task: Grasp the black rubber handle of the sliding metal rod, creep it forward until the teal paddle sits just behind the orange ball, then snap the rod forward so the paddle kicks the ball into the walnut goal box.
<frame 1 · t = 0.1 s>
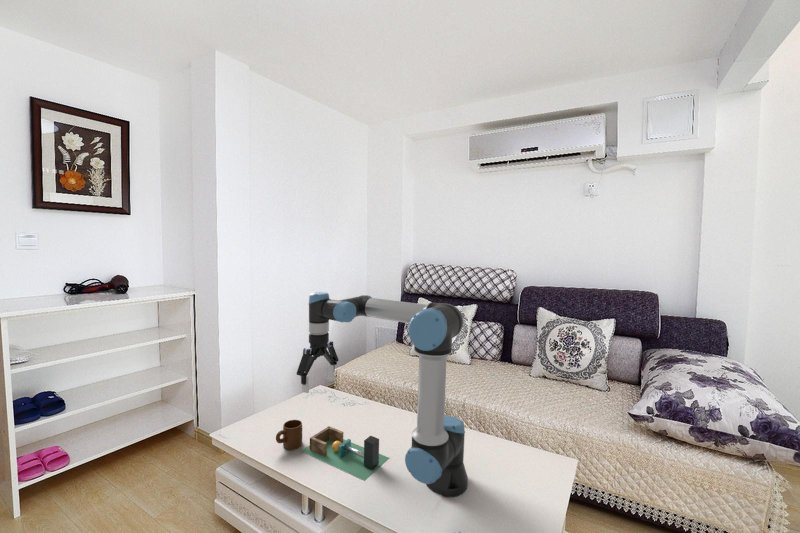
hand: (318, 386, 140), 28 cm above the table, fingers open, 13 cm apart
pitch: (344, 455, 142), on the table
goal: (326, 446, 147), resting on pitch
rod: (359, 447, 137), point 6 cm above the table, slide at 0.0 cm
ball: (337, 446, 143), point 2 cm above the table, touching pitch
mug: (288, 449, 146), on the table
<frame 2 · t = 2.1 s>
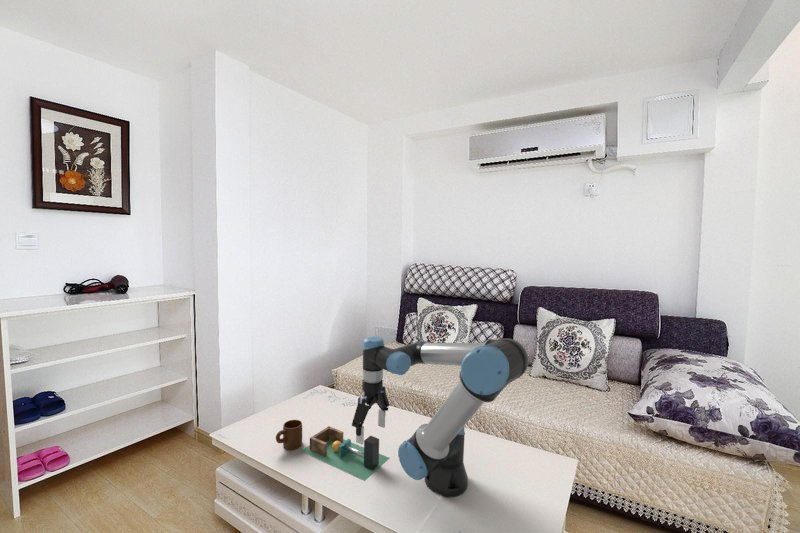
hand: (371, 434, 134), 13 cm above the table, fingers open, 13 cm apart
nothing on the table moved.
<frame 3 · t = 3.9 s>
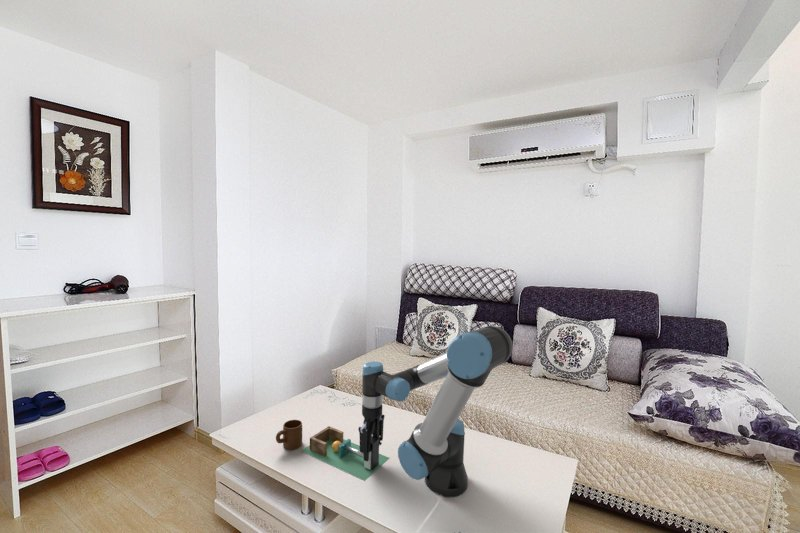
hand: (371, 464, 135), 1 cm above the table, fingers closed on rod, 4 cm apart
rod: (359, 447, 137), point 6 cm above the table, slide at 0.0 cm, touching gripper
everything else where it was.
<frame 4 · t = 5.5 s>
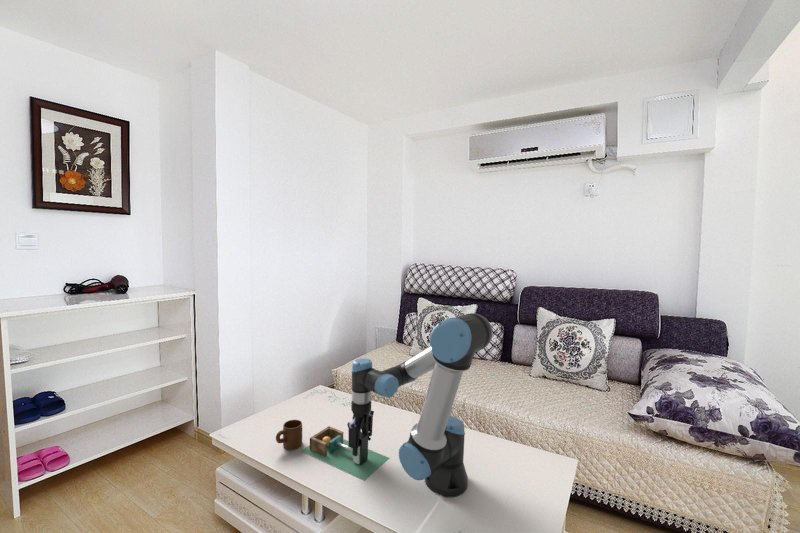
hand: (360, 459, 137), 1 cm above the table, fingers closed on rod, 4 cm apart
rod: (348, 443, 140), point 6 cm above the table, slide at 5.2 cm, touching gripper
ball: (326, 441, 147), point 2 cm above the table, tilted 160°, touching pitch
everything else where it was.
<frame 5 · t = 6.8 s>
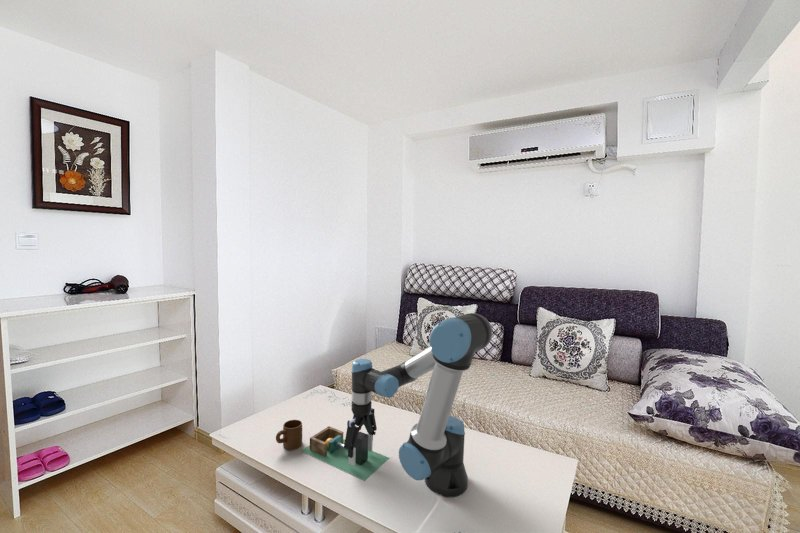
hand: (360, 457, 137), 2 cm above the table, fingers open, 10 cm apart
rod: (348, 443, 140), point 6 cm above the table, slide at 5.2 cm
ball: (330, 443, 145), point 2 cm above the table, tilted 101°, touching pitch
everything else where it was.
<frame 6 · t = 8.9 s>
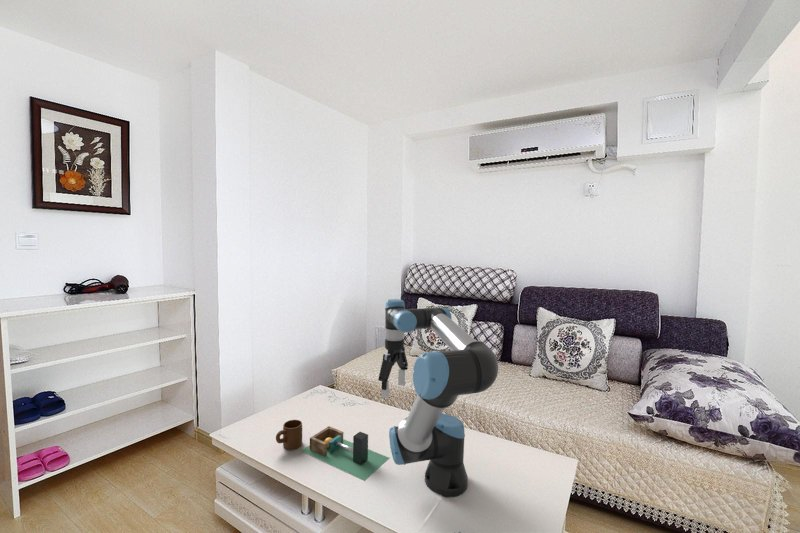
hand: (393, 391, 143), 25 cm above the table, fingers open, 13 cm apart
ball: (328, 442, 146), point 2 cm above the table, tilted 119°, touching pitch
everything else where it was.
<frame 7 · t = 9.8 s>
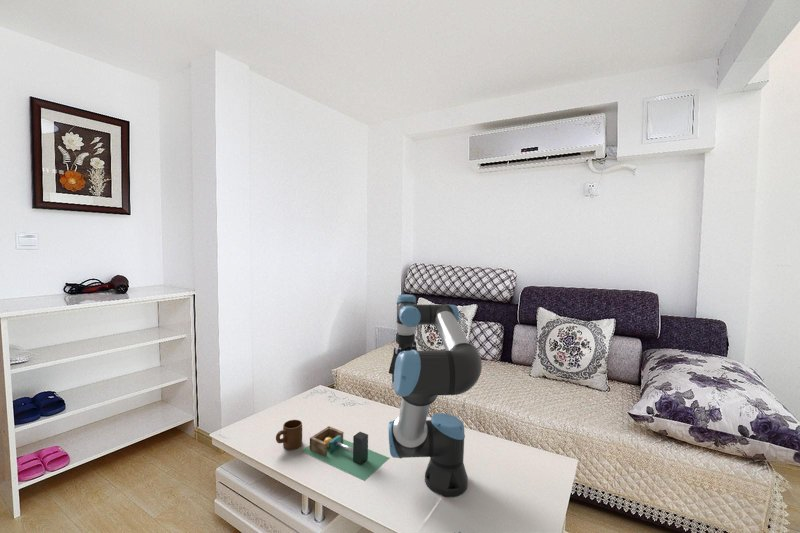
hand: (404, 384, 146), 27 cm above the table, fingers open, 13 cm apart
ball: (328, 442, 146), point 2 cm above the table, tilted 127°, touching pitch
everything else where it was.
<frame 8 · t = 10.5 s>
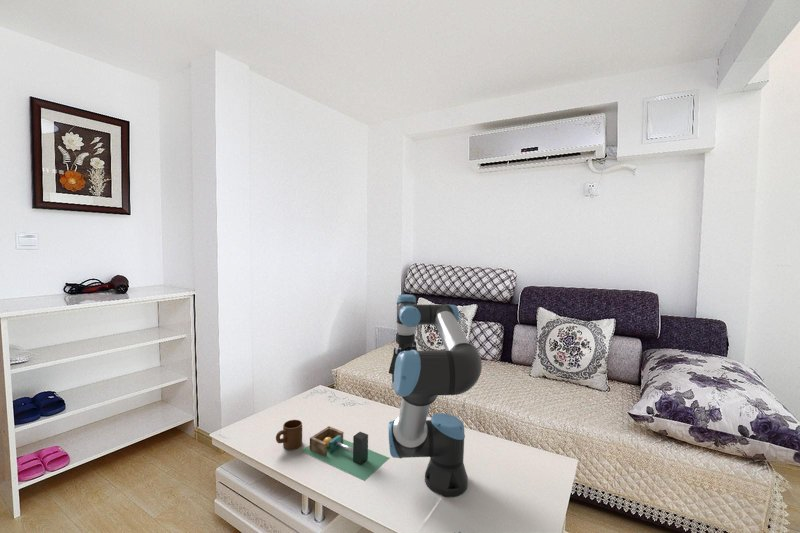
hand: (404, 384, 146), 27 cm above the table, fingers open, 13 cm apart
ball: (327, 442, 146), point 2 cm above the table, tilted 134°, touching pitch
everything else where it was.
at the end: ball inside the target area on the goal (0.0 cm from its centre), point 2.0 cm above the goal's base; rod slide at 5.2 cm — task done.
